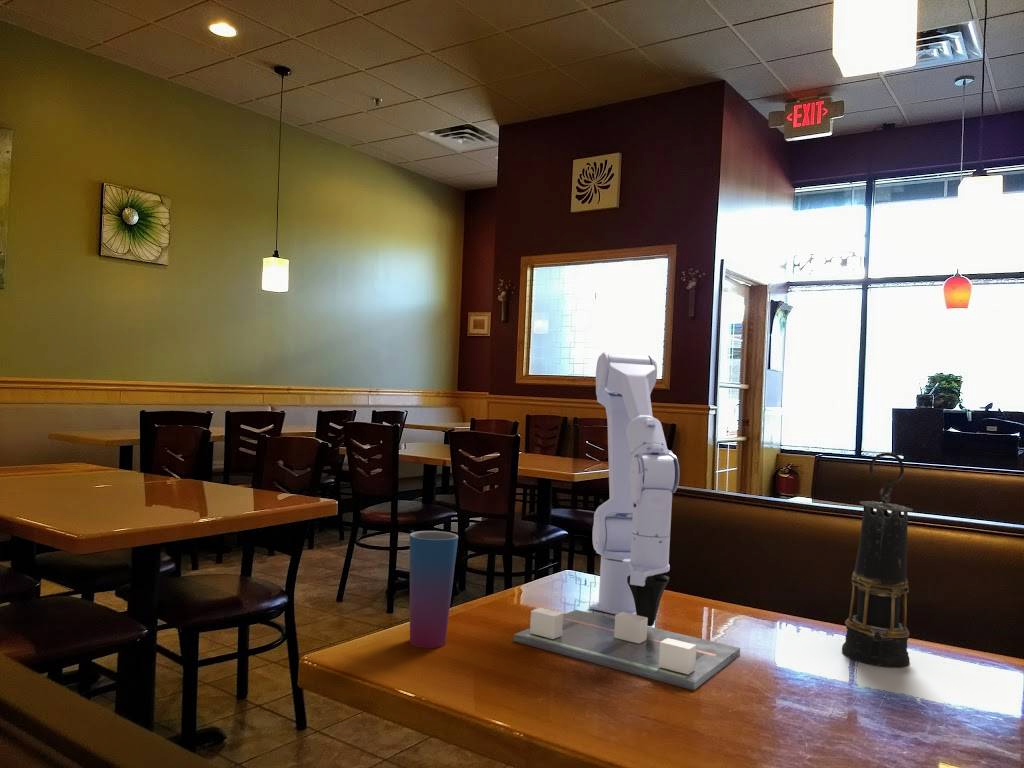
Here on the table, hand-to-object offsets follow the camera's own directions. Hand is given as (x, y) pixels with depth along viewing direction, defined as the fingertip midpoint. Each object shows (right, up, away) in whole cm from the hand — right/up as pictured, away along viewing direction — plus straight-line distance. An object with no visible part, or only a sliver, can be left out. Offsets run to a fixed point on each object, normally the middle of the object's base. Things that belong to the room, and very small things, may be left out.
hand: (646, 624), depth 114 cm
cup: (-32, 0, -8) cm, 33 cm away
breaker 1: (-15, 0, -5) cm, 16 cm away
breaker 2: (+1, -1, -16) cm, 16 cm away
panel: (-4, -2, -5) cm, 7 cm away
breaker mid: (-3, -1, -4) cm, 5 cm away
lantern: (+33, -4, -3) cm, 33 cm away
